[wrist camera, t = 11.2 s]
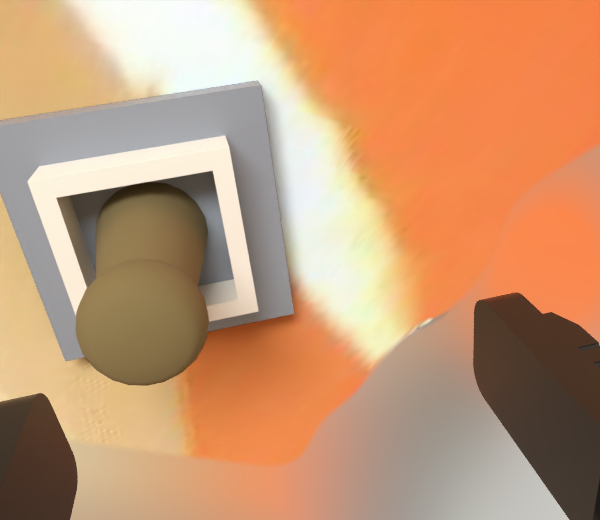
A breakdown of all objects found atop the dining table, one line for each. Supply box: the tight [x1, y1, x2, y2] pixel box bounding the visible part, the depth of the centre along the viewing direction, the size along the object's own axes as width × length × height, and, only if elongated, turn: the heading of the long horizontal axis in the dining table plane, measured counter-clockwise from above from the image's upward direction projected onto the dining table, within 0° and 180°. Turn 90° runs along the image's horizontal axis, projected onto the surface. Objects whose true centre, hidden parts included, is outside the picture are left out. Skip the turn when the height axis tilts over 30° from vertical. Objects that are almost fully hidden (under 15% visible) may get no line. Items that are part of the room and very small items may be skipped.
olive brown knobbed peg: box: [75, 182, 209, 385], centre depth 26 cm, size 6×6×11 cm
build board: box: [0, 81, 294, 361], centre depth 30 cm, size 14×14×4 cm
